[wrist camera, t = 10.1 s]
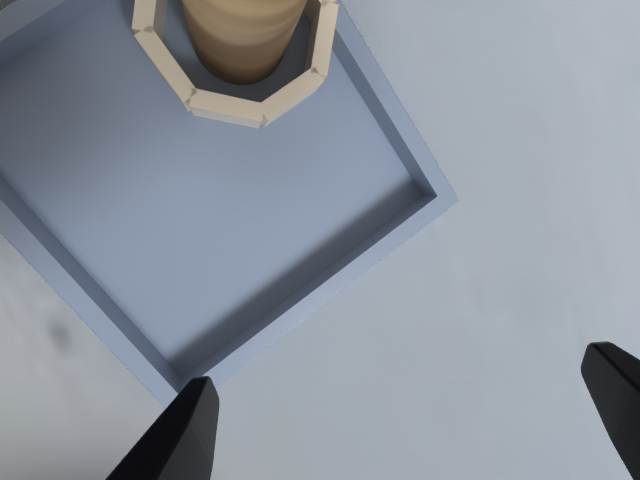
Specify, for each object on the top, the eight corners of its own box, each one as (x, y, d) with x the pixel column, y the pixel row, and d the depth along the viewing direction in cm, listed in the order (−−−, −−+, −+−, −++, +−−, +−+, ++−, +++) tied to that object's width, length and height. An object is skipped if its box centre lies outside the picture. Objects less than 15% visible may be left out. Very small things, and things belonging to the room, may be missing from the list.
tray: (180, 395, 19) (173, 425, 17) (-87, 103, 16) (-146, 87, 13) (438, 199, 21) (465, 200, 18) (251, -108, 17) (254, -157, 15)
